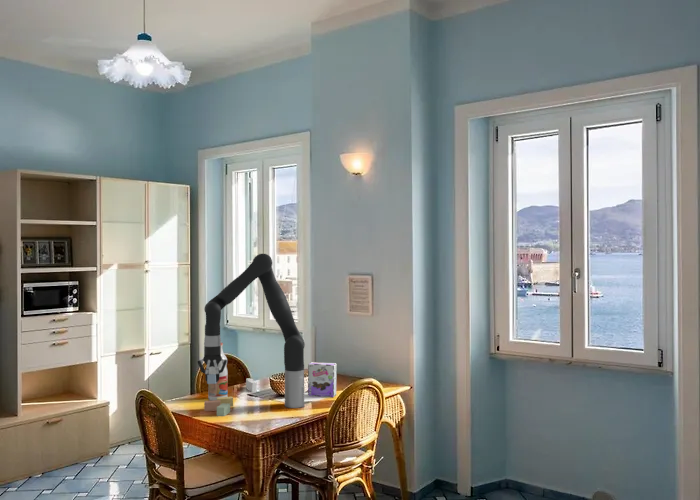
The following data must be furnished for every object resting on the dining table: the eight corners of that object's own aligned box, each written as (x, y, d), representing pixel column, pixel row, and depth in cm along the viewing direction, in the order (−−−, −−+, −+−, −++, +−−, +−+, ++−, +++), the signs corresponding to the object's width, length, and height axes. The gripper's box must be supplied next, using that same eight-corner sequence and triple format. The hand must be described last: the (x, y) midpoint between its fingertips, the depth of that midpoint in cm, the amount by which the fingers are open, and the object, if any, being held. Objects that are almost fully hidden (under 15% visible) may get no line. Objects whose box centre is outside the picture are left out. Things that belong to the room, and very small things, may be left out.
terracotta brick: (220, 408, 290) (220, 400, 290) (220, 410, 286) (220, 402, 286) (204, 409, 288) (204, 400, 288) (204, 411, 285) (204, 402, 285)
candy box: (307, 395, 314) (307, 363, 314) (311, 393, 320) (311, 361, 320) (333, 397, 311) (333, 364, 311) (336, 394, 317) (336, 362, 317)
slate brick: (209, 382, 290) (209, 374, 291) (217, 382, 290) (217, 374, 291) (207, 383, 283) (207, 374, 283) (215, 383, 283) (215, 374, 284)
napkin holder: (258, 393, 321) (258, 382, 320) (237, 393, 322) (237, 382, 322) (265, 387, 335) (265, 376, 335) (245, 386, 337) (245, 376, 337)
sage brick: (222, 411, 284) (222, 403, 284) (230, 412, 283) (230, 403, 283) (216, 416, 277) (216, 407, 277) (224, 416, 276) (224, 407, 276)
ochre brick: (232, 404, 297) (232, 396, 297) (233, 406, 293) (233, 398, 293) (216, 406, 295) (216, 397, 295) (217, 407, 291) (217, 399, 291)
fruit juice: (211, 396, 312) (211, 341, 312) (229, 397, 311) (229, 341, 311) (205, 401, 303) (205, 344, 303) (224, 401, 302) (224, 344, 302)
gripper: (228, 343, 291) (228, 379, 292) (198, 343, 290) (198, 380, 290) (227, 345, 284) (226, 383, 284) (195, 346, 283) (195, 383, 283)
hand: (212, 381), depth 287 cm, fingers closed on slate brick, 3 cm apart
